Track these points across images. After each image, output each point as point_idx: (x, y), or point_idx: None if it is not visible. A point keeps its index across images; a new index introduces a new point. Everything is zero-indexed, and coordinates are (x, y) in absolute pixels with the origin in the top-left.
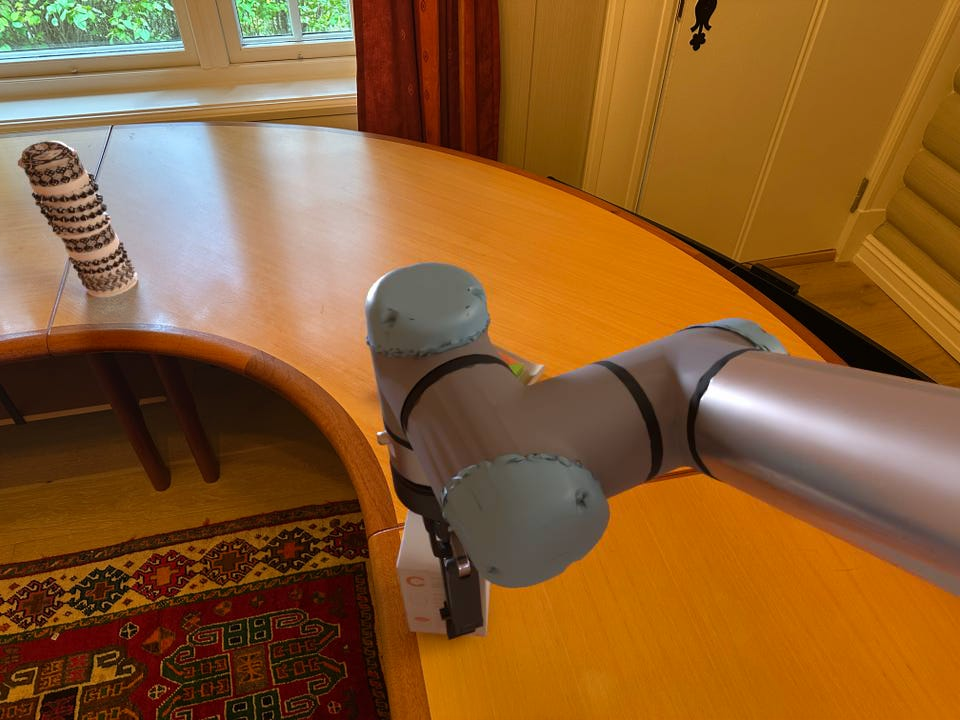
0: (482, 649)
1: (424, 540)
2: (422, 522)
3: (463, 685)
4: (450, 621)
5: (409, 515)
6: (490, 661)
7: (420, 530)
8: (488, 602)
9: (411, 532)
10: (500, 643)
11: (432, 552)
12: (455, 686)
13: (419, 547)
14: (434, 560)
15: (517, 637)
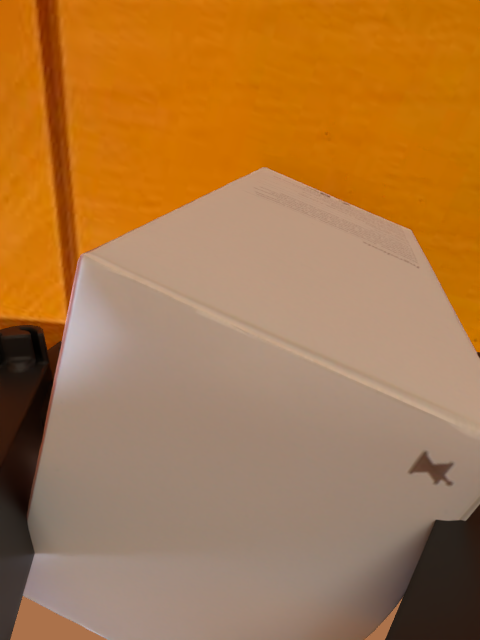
0: (417, 235)
1: (178, 608)
2: (83, 576)
3: (476, 304)
4: None
5: (41, 598)
6: (455, 226)
7: (123, 603)
8: (363, 222)
9: (125, 629)
10: (424, 186)
11: (253, 611)
12: (469, 320)
13: (208, 636)
14: (301, 624)
15: (429, 134)
